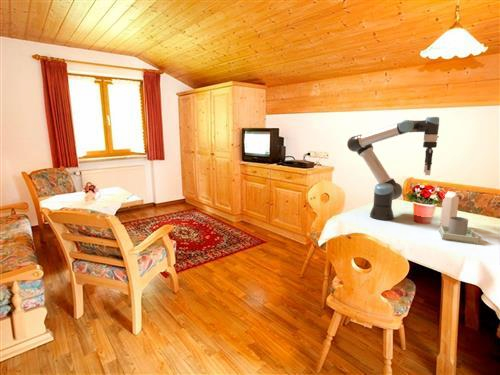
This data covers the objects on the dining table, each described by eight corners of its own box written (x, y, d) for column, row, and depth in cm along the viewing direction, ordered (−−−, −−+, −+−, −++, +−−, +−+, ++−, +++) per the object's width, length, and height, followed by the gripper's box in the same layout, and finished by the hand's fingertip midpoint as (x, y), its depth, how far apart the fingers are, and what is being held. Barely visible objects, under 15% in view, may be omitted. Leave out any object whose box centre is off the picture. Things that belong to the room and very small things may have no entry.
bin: (442, 239, 164) (442, 233, 163) (439, 230, 178) (439, 225, 177) (477, 244, 157) (478, 237, 156) (471, 234, 171) (472, 229, 170)
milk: (448, 227, 185) (452, 193, 181) (439, 224, 191) (443, 191, 186) (455, 226, 186) (460, 192, 182) (446, 223, 192) (450, 190, 188)
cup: (469, 238, 162) (471, 221, 161) (452, 237, 164) (454, 220, 162) (461, 233, 171) (463, 217, 169) (445, 232, 172) (447, 216, 170)
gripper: (439, 142, 177) (435, 176, 181) (435, 140, 199) (431, 171, 203) (424, 142, 181) (421, 176, 185) (422, 140, 203) (419, 171, 207)
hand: (426, 173), depth 194 cm, fingers open, 13 cm apart
